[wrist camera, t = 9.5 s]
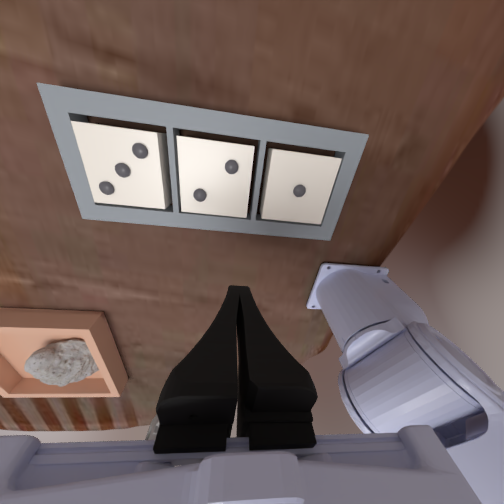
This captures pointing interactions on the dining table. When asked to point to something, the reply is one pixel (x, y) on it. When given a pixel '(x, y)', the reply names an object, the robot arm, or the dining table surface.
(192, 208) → the tile two
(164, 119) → the board
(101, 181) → the tile three
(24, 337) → the stone dish
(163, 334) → the dining table surface
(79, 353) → the stone
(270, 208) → the tile one
